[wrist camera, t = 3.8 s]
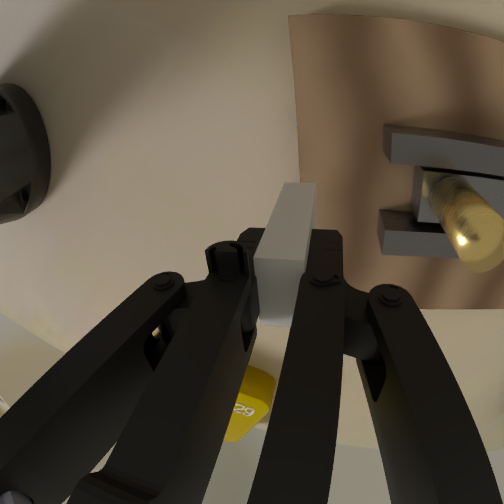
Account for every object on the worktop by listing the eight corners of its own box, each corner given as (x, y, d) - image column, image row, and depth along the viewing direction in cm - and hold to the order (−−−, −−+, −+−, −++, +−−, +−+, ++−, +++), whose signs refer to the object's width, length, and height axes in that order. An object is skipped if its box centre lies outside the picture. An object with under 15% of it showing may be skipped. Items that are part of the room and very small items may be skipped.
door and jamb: (304, 288, 26) (301, 304, 24) (291, 21, 15) (288, 15, 14) (565, 293, 19) (573, 305, 17) (609, 96, 9) (623, 101, 7)
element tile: (148, 381, 42) (134, 407, 38) (157, 322, 33) (138, 353, 29) (242, 421, 42) (233, 448, 38) (282, 375, 33) (274, 410, 29)
